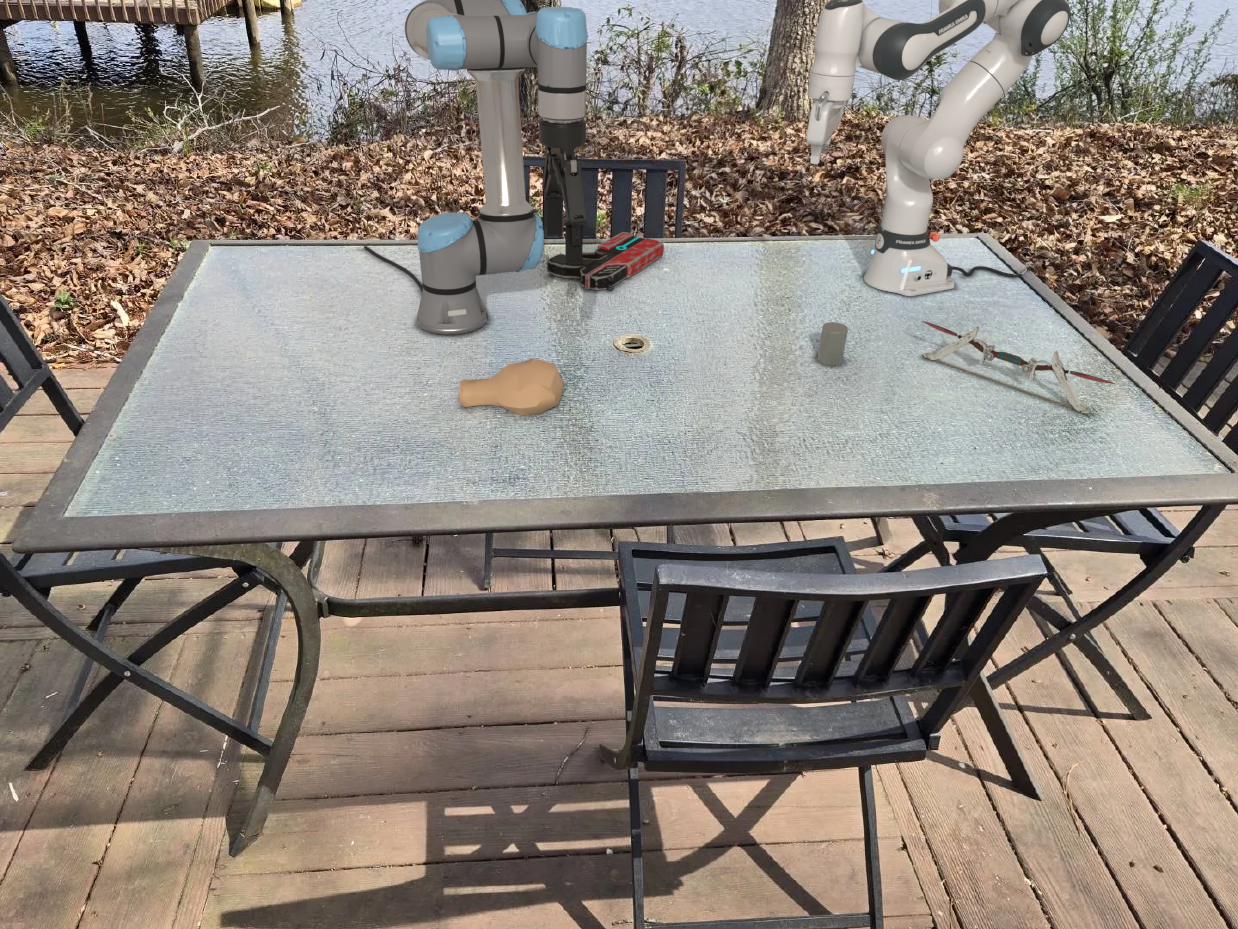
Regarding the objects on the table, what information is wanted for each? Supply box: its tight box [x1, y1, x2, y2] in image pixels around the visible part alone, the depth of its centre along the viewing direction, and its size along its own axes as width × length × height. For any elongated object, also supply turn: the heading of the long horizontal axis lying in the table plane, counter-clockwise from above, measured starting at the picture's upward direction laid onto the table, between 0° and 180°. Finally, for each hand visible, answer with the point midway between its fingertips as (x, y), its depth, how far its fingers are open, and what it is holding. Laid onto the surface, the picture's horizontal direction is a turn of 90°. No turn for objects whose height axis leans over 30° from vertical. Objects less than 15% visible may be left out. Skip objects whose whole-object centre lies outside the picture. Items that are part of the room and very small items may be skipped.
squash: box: [457, 358, 565, 416], centre depth 164 cm, size 11×20×9 cm, turn 90°
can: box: [816, 321, 849, 367], centre depth 184 cm, size 5×5×8 cm
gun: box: [546, 231, 665, 292], centre depth 225 cm, size 4×31×19 cm
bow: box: [921, 320, 1114, 414], centre depth 176 cm, size 39×2×10 cm, turn 47°
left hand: (563, 248), depth 150 cm, fingers open, 13 cm apart
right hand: (819, 157), depth 186 cm, fingers open, 8 cm apart
